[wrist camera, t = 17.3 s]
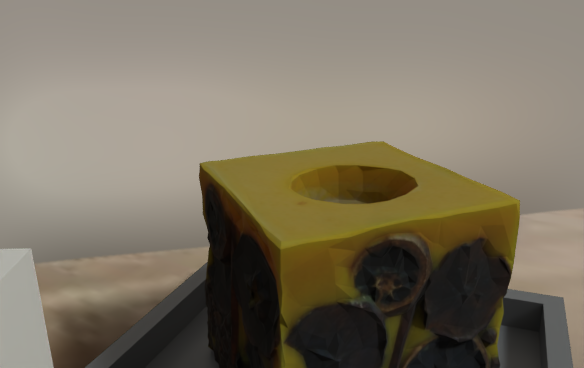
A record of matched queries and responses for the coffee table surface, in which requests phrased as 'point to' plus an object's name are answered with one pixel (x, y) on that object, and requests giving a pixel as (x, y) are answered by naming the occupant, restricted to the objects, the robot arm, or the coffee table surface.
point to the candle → (354, 261)
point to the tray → (201, 364)
